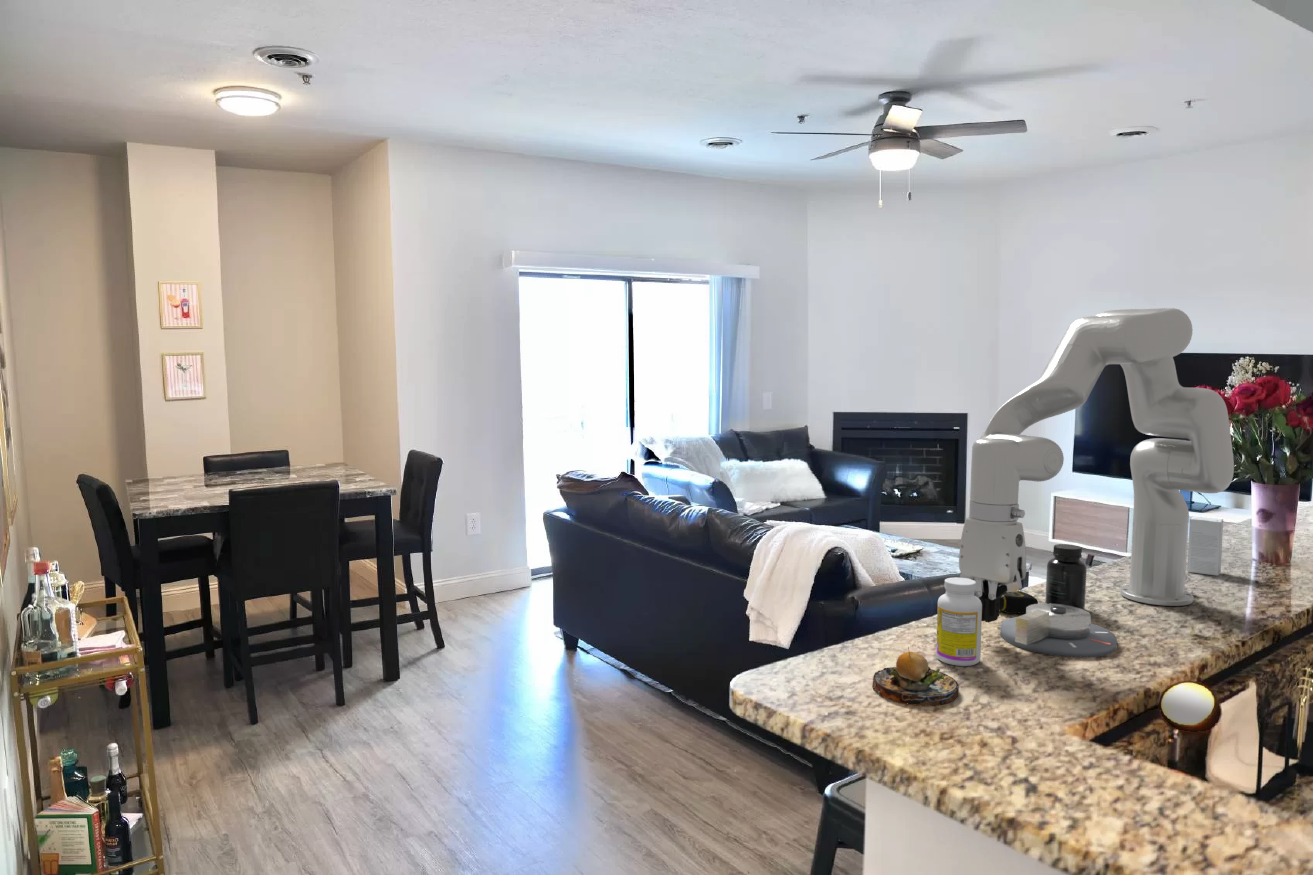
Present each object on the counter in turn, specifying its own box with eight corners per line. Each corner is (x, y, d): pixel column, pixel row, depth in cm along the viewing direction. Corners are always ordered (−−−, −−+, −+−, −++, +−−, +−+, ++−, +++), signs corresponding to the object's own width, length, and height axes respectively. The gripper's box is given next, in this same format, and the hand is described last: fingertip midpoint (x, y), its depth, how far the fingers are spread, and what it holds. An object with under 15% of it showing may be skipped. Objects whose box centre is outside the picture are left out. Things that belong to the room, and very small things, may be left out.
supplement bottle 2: (1065, 602, 175) (1068, 541, 173) (1093, 611, 168) (1096, 549, 167) (1037, 605, 172) (1039, 544, 171) (1063, 615, 166) (1066, 551, 165)
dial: (1043, 616, 159) (1044, 594, 159) (1100, 630, 151) (1102, 606, 151) (992, 636, 148) (993, 611, 148) (1050, 651, 141) (1052, 626, 140)
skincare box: (1221, 572, 198) (1224, 519, 197) (1218, 576, 194) (1221, 521, 193) (1189, 568, 201) (1192, 515, 200) (1186, 572, 198) (1189, 518, 197)
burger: (975, 696, 128) (977, 645, 127) (918, 714, 122) (919, 661, 121) (910, 671, 138) (912, 624, 137) (854, 686, 132) (855, 637, 131)
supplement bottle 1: (948, 650, 147) (951, 573, 146) (987, 660, 142) (990, 580, 141) (928, 660, 142) (930, 580, 141) (967, 670, 137) (970, 588, 136)
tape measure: (1039, 615, 167) (1040, 595, 166) (1007, 618, 165) (1007, 598, 164) (1016, 605, 173) (1017, 586, 173) (984, 607, 171) (985, 588, 171)
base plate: (1033, 617, 165) (1033, 609, 165) (1135, 641, 151) (1135, 633, 151) (979, 637, 153) (979, 628, 153) (1085, 665, 140) (1085, 656, 139)
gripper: (1047, 516, 146) (1042, 626, 148) (965, 504, 157) (961, 606, 159) (1024, 521, 141) (1018, 635, 143) (940, 508, 153) (936, 613, 154)
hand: (988, 619), depth 151 cm, fingers closed
